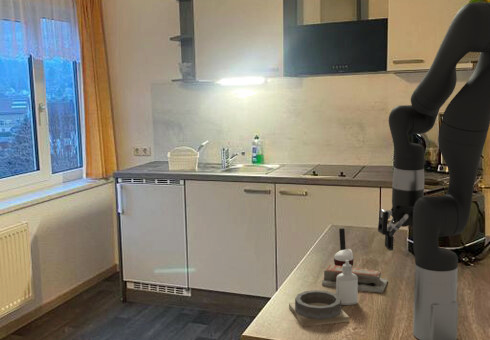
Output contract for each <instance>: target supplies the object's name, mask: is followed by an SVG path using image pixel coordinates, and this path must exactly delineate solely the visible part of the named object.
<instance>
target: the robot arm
mask: <svg viewBox="0 0 490 340" xmlns="http://www.w3.org/2000/svg"><path fill="white" fill-rule="evenodd" d="M468 53H479V56H478V60H477V63H476V67H475V69H474V70H473V73H472V74H471V76H470V77H469V78H468V80H467V81H466V83H464V85H463V86H462V87H461V89H460V90H459V91H458V92H457V93H456V94H455V95H454V97H453V98H452V99H451V100H450V102H449V103H448V104H447V106H446V108H445V110H444V112H443V115H442V119H441V124H440V126H439V132H438V137H437V143H438V148H439V151H440V154H441V157H442V158H443V160H444V163H445V165H446V167H447V171H448V173H449V178H448V179H449V182H448V187H447V191H446V193H445V194H444V195H434V196H433V195H432V196H425V195H424V194H425V153H426V152H425V147H424V146H423V145H422V144H419V143H415V142H411V141H410V139H409V135H422V134H425V133H428V132H430V131H431V130H432V129H433V127H434V126H435V124H436V120H437V117H438V115H439V113H440V112H439V111H440V109H441V108H442V107H443V105H445V103H446V102H447V101H448V99H449V98H450V97H451V96H452V94H453V93H454V91H455V88H456V86H457V81H458V80H457V65H458V64H459V62H460V61H461V60H462V59H463V58H464V57H465V56H467V54H468ZM388 126H389V130H390V135H391V138H392V143H393V148H394V164H393V165H394V166H393V167H394V168H393V174H392V182H391V184H392V192H391V209H390V210H389V209H383V208H380V210H379V216H378V224H377V225H378V226H377V231H378V232H379V233H380V234H381V235H383V236H384V246H385V248H386V249H387V250H389V251H393V250H394V241H395V240H394V235H395V233H397V231H399V230H400V228H401V227H408V226H410V227H412V237H413V238H412V239H413V241H412V243H413V245H412V246H413V253H414V282H413V283H414V287H413V288H414V290H413V320H412V321H413V322H412V325H413V326H412V334H413V336H414V337H415V338H417V339H418V340H458V338H457V336H458V318H459V317H458V316H459V303H458V302H457V291H458V288H457V287H458V286H457V285H458V268H459V257H458V255H457V253H455V252H454V251H453V250H450V249H448V248H444V247H441V246H439V238H440V237H442V238H443V237H451V236H452V237H453V236H458V235H461V234H462V233H463V232H464V231H465V229H466V227H467V226H468V223H469V219H470V213H471V209H472V208H471V207H472V201H473V196H474V195H473V194H474V190H475V189H474V188H475V182H476V176H477V173H478V168H479V165H480V161H481V157H482V153H483V149H484V146H485V143H486V139H487V135H488V132H489V128H490V2H480V1H479V2H471V3H467V4H464V5H463V6H462V7H461V8H460V9H459V10H458V11H457V12H456V14H455V15H454V17H453V18H452V20H451V22H450V25H449V26H448V29H447V30H446V33H445V35H444V36H443V40H442V41H441V44H440V46H439V48H438V50H437V53H436V55H435V57H434V58H433V61H432V63H431V65H430V66H429V69H428V71H427V72H426V73H425V75H424V77H423V78H422V80H421V81H420V82H419V84H418V85H417V86H416V88H415V89H414V90H413V91H412V94H411V96H410V104H409V105H408V104H404V105H402V104H401V105H396V106H394V107H393V108H392V109H391V111H390V112H389V115H388ZM390 217H392V218H391V219H390ZM389 219H390V220H389Z"/></svg>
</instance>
